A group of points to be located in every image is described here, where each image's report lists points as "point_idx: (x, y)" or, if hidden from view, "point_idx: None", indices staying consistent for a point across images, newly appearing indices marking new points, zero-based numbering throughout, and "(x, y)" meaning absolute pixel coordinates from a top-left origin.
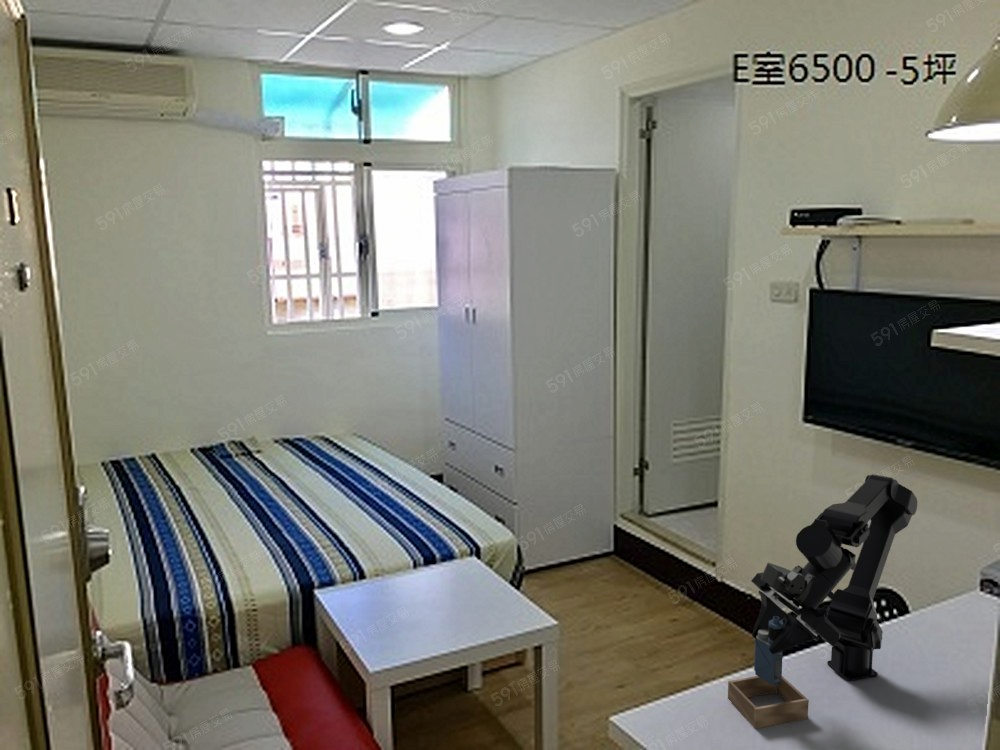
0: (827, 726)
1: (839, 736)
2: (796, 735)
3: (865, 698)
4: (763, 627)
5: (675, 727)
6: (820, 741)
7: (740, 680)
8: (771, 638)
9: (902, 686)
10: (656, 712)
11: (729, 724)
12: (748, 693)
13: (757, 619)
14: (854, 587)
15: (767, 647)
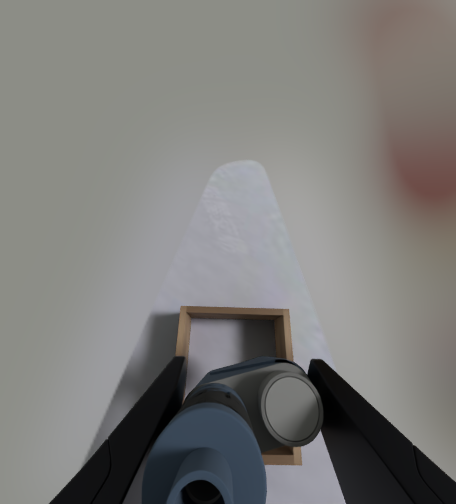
0: None
1: None
2: (141, 376)
3: None
4: (338, 437)
5: (230, 206)
6: (105, 414)
7: (285, 336)
8: (199, 392)
9: None
10: (269, 199)
11: (211, 278)
12: (277, 357)
13: (390, 425)
14: None
15: (223, 377)
